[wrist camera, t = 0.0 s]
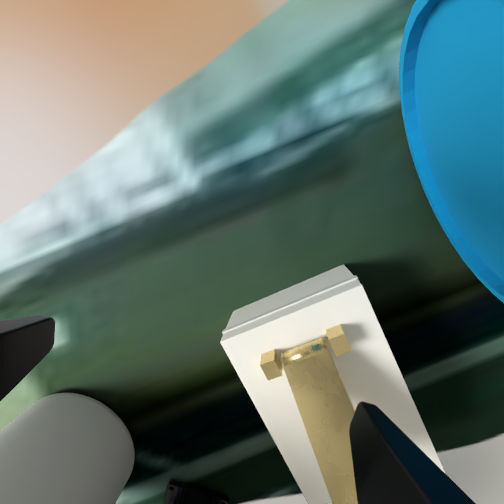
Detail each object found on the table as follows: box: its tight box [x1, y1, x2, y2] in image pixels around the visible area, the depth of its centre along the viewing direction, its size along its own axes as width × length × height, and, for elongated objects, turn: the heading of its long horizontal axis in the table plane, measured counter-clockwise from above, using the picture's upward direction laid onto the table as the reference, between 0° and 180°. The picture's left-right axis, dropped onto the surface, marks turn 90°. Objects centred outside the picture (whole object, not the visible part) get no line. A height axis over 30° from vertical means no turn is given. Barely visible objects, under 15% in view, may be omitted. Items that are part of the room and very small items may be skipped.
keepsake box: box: [220, 264, 445, 504], centre depth 20 cm, size 15×10×7 cm
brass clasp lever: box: [281, 338, 358, 504], centre depth 15 cm, size 10×3×1 cm, turn 28°
